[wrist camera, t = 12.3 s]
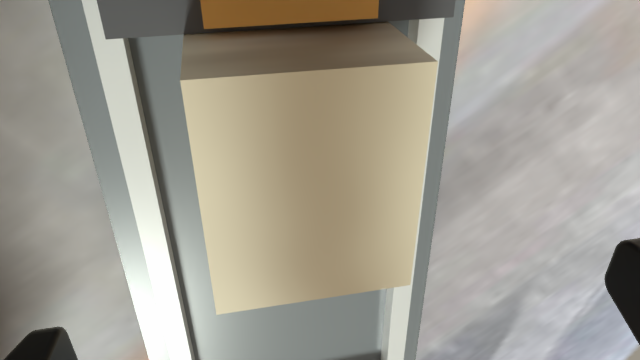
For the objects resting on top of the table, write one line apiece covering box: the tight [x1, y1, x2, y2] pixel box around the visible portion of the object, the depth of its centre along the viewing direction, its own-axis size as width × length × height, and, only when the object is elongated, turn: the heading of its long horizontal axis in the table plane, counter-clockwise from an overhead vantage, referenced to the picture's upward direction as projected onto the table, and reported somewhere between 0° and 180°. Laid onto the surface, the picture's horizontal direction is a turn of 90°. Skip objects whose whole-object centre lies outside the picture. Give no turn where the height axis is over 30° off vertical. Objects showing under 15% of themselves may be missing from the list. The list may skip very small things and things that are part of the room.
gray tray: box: [48, 0, 465, 360], centre depth 18 cm, size 12×20×5 cm, turn 0°
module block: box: [180, 21, 438, 315], centre depth 14 cm, size 5×6×6 cm
